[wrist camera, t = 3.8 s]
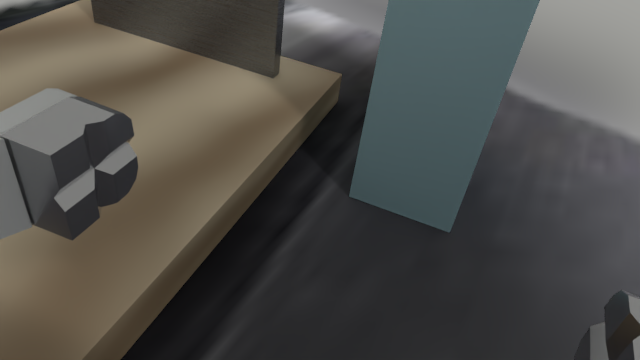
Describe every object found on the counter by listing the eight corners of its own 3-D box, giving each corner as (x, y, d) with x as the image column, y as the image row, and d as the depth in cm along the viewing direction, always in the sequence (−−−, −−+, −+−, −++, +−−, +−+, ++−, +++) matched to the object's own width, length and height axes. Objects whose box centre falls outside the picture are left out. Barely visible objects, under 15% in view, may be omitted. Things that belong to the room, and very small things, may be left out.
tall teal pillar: (480, 140, 24) (624, -241, 16) (451, 233, 19) (645, -266, 10) (397, 114, 25) (490, -259, 17) (347, 196, 20) (445, -290, 11)
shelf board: (337, 101, 25) (342, 74, 25) (-15, 520, 10) (-39, 491, 10) (91, 24, 29) (87, -3, 28) (-436, 254, 14) (-483, 214, 13)
